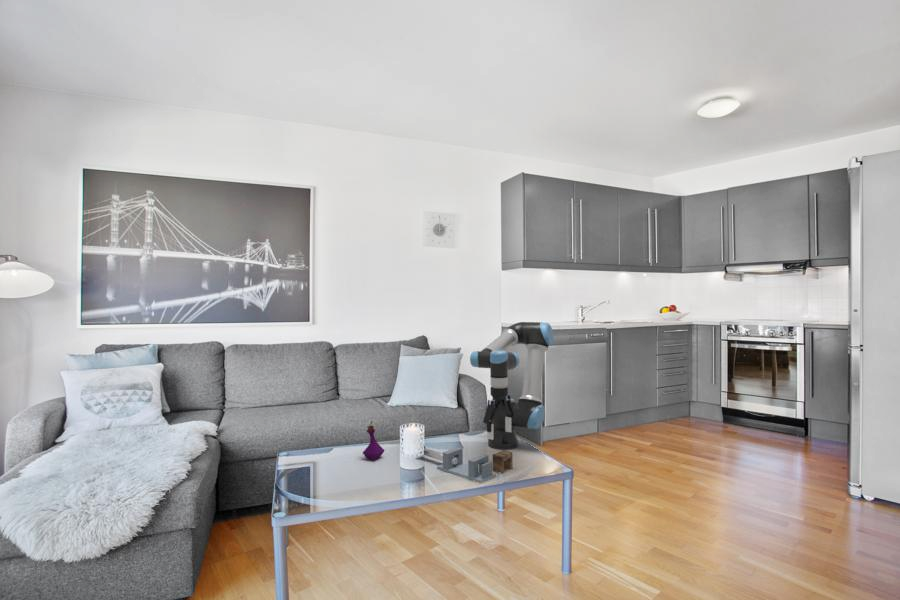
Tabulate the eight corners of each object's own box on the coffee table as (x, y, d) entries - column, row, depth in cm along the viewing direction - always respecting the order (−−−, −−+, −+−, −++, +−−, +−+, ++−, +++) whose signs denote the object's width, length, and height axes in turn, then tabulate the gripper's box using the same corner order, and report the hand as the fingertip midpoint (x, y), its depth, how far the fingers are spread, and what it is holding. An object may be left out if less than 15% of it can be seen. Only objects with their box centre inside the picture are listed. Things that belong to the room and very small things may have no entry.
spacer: (503, 465, 209) (503, 450, 209) (512, 468, 206) (512, 452, 206) (492, 470, 203) (492, 454, 203) (502, 473, 200) (501, 457, 200)
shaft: (423, 453, 222) (423, 444, 222) (459, 465, 207) (459, 454, 207) (416, 456, 219) (416, 446, 219) (452, 467, 204) (452, 457, 204)
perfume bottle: (362, 459, 219) (361, 421, 219) (372, 454, 225) (371, 417, 225) (375, 462, 215) (374, 423, 215) (384, 457, 222) (384, 419, 222)
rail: (452, 462, 214) (451, 445, 214) (496, 476, 197) (496, 457, 197) (436, 468, 206) (436, 450, 206) (481, 483, 190) (481, 464, 190)
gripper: (508, 381, 216) (508, 427, 216) (474, 390, 197) (475, 440, 197) (522, 383, 211) (522, 430, 211) (489, 392, 192) (489, 444, 192)
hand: (499, 435), depth 204 cm, fingers open, 13 cm apart
